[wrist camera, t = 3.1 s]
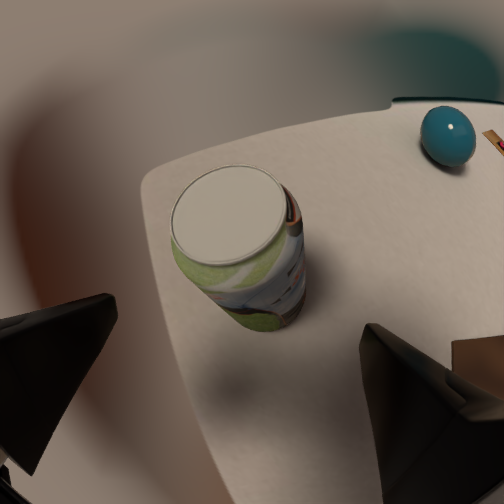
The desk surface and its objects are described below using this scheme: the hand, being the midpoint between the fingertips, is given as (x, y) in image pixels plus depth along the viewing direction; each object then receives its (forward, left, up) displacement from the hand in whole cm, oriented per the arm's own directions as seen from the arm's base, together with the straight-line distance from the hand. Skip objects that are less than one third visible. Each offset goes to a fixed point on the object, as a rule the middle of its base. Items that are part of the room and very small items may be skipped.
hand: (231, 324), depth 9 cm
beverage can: (+4, +3, -12) cm, 13 cm away
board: (+56, -11, -12) cm, 58 cm away
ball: (+34, 0, -12) cm, 35 cm away
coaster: (+13, -19, -11) cm, 25 cm away
